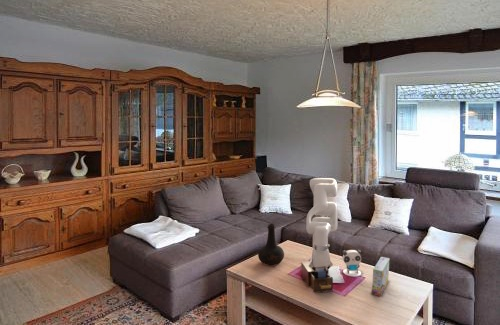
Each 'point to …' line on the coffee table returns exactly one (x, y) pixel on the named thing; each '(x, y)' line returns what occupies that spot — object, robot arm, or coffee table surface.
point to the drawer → (321, 283)
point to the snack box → (380, 276)
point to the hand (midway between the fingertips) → (320, 276)
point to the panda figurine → (352, 262)
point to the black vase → (271, 249)
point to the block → (321, 273)
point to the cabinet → (307, 271)
